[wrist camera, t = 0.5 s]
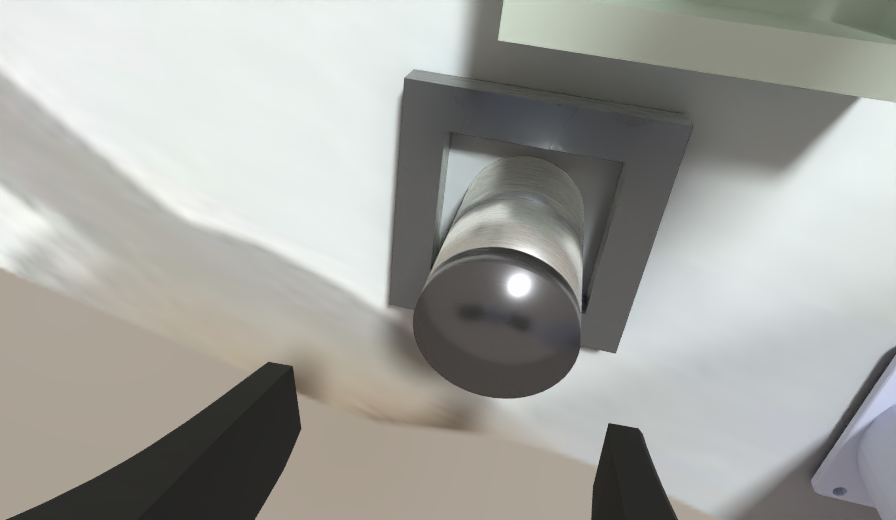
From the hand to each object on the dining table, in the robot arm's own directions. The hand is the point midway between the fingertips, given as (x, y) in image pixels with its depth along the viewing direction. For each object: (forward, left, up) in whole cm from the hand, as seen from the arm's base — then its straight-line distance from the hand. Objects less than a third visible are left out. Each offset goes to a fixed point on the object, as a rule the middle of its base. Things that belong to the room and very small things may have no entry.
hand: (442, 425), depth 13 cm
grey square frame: (-1, -1, -10) cm, 10 cm away
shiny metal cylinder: (-1, -1, -10) cm, 10 cm away
